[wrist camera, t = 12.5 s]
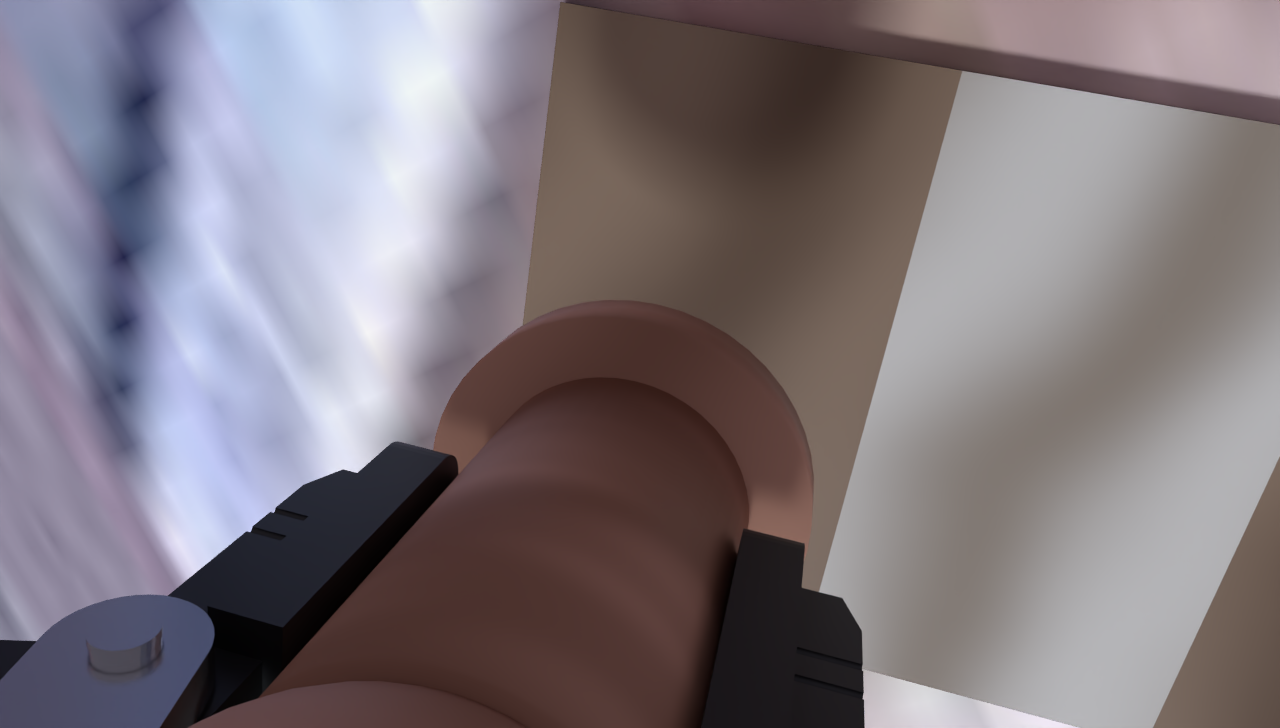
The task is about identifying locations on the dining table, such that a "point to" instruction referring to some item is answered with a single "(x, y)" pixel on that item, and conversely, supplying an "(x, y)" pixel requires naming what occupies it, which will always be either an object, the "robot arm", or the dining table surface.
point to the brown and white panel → (965, 346)
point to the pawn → (566, 538)
